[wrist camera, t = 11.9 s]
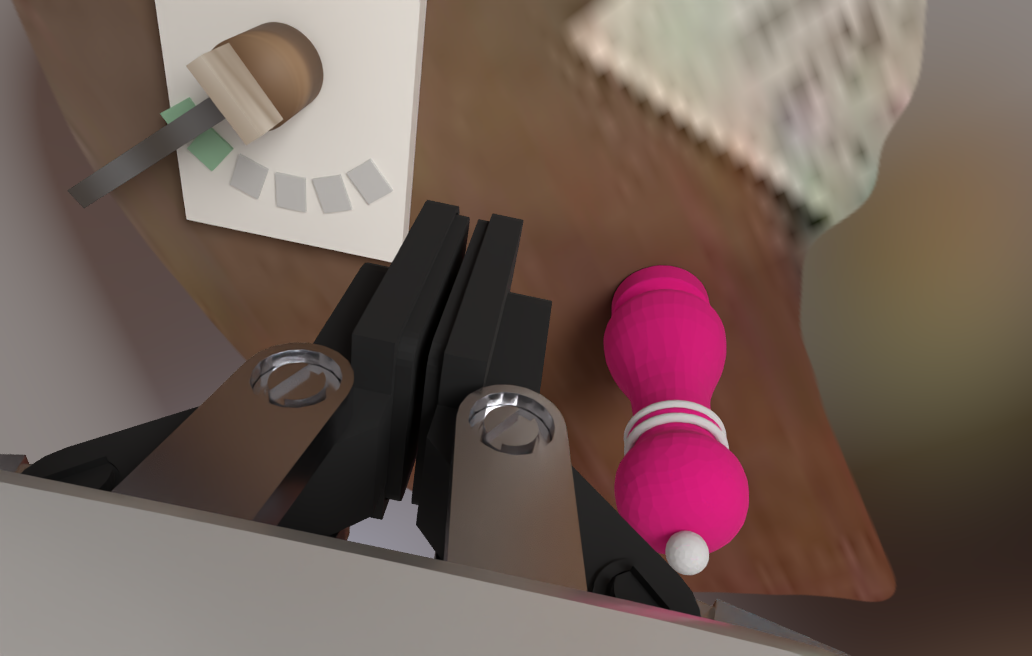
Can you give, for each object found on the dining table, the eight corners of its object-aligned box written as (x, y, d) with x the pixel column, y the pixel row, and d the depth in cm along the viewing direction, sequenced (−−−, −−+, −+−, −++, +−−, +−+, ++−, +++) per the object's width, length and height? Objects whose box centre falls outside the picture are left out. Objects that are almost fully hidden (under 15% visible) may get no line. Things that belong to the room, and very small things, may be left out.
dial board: (151, -73, 33) (131, -71, 32) (428, -16, 33) (420, -11, 32) (190, 207, 43) (176, 219, 41) (406, 252, 43) (400, 265, 41)
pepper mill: (630, 362, 46) (640, 632, 30) (585, 282, 42) (570, 536, 26) (731, 328, 43) (804, 604, 27) (693, 239, 40) (749, 493, 24)
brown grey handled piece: (287, 5, 33) (226, 31, 28) (339, 85, 35) (291, 123, 30) (85, 144, 39) (3, 187, 34) (140, 206, 41) (70, 255, 36)
